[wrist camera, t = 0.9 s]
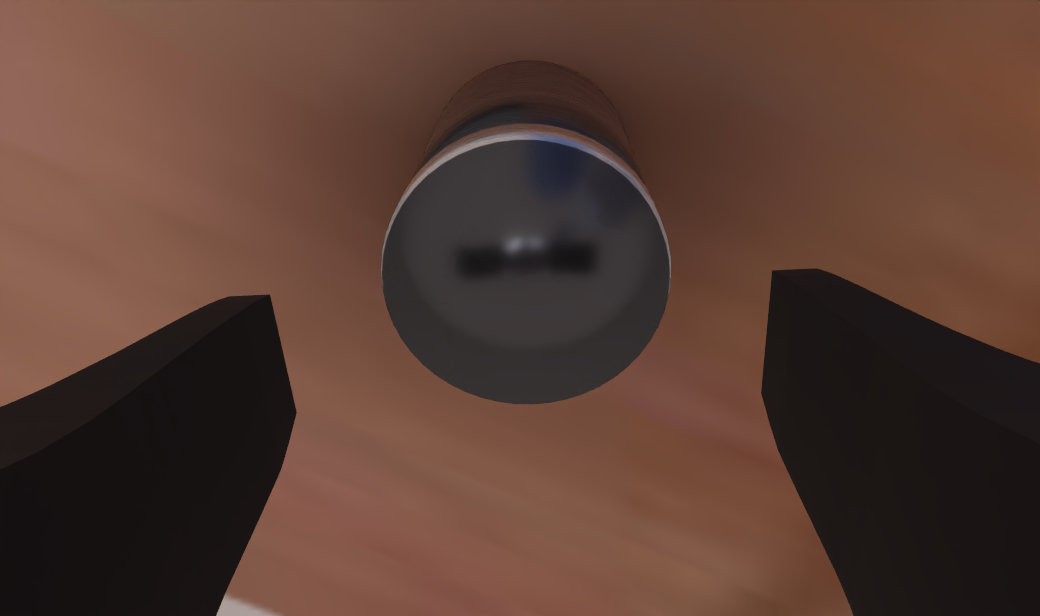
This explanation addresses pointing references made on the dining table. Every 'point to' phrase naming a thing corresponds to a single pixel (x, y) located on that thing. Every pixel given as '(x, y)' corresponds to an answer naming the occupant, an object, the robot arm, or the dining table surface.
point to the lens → (527, 241)
